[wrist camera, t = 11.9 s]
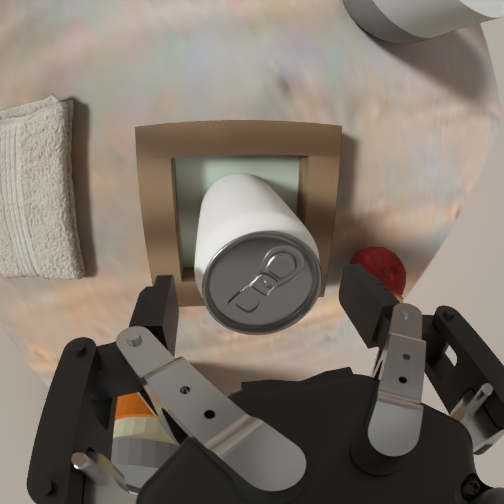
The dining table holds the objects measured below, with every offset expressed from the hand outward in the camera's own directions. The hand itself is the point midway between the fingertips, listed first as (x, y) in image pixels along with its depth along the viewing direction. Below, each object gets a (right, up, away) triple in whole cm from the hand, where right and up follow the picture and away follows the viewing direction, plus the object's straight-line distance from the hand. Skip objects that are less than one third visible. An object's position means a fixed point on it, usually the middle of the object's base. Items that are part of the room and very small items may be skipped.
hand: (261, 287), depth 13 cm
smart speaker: (+11, +25, +4) cm, 28 cm away
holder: (-2, +5, +12) cm, 13 cm away
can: (-2, +5, +11) cm, 12 cm away
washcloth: (-22, +8, +8) cm, 25 cm away
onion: (+11, +1, +16) cm, 19 cm away
